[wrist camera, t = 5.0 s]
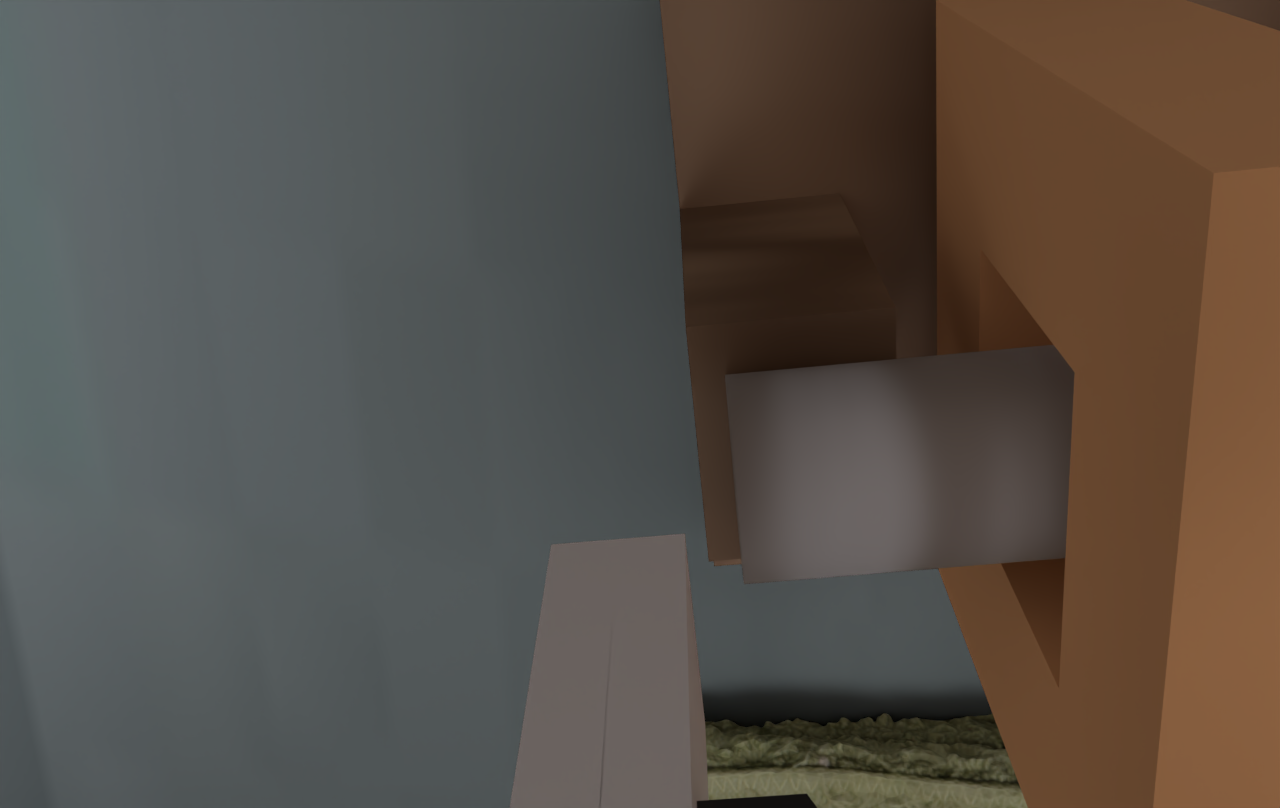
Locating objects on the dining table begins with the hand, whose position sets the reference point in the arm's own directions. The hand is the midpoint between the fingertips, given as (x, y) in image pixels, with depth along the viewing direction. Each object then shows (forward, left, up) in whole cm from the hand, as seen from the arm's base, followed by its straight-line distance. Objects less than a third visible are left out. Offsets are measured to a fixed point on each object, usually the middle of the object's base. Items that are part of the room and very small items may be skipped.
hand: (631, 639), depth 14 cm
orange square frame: (+7, 0, -9) cm, 12 cm away
